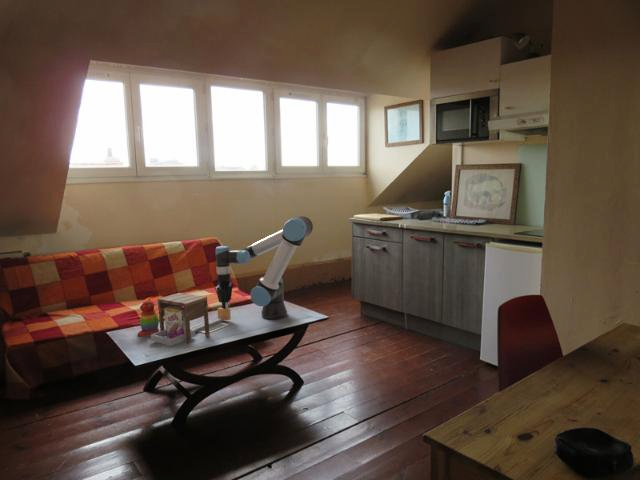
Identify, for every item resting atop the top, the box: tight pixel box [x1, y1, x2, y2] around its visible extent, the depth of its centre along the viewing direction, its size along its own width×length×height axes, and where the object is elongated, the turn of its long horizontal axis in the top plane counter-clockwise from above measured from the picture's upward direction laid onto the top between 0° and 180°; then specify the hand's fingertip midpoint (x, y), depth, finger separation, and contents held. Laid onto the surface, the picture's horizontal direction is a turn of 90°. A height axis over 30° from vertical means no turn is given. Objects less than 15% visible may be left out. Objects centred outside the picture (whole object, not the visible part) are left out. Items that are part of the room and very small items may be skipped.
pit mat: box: [190, 319, 231, 334], centre depth 249 cm, size 16×17×1 cm
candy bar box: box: [164, 306, 186, 339], centre depth 231 cm, size 11×5×16 cm, turn 71°
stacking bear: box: [137, 299, 160, 337], centre depth 242 cm, size 11×10×18 cm
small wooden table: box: [157, 292, 211, 345], centre depth 234 cm, size 21×14×20 cm, turn 58°
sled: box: [150, 307, 232, 347], centre depth 241 cm, size 15×45×6 cm, turn 148°
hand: (225, 313), depth 261 cm, fingers closed
